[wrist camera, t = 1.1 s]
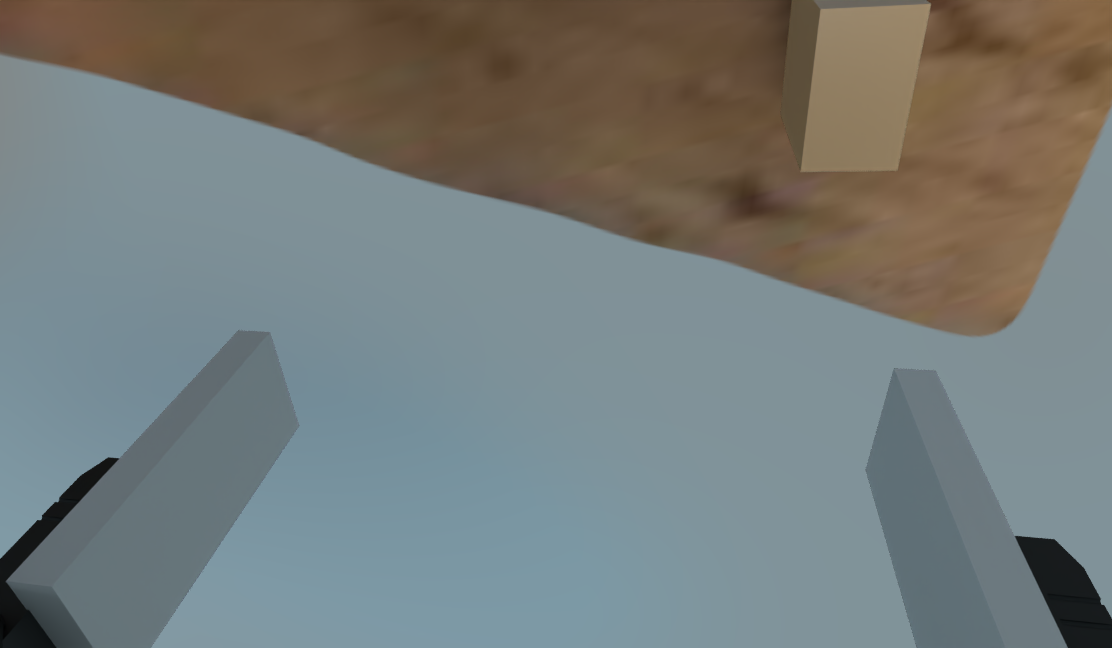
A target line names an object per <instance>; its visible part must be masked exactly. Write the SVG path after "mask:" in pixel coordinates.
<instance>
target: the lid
mask: <svg viewBox="0 0 1112 648" xmlns="http://www.w3.org/2000/svg"><path fill="white" fill-rule="evenodd" d="M930 7H931V3H929V2H928V1H926V0H792V3H791V13H790V23H789V32H788V42H787V52H786V62H785V72H784V82H783V92H782V101H781V111H780V115H781V118H782V121H783V124H784V126H785V129H786V132H787V135H788V138H789V141H790V143H791V146H792V149H793V152H794V155H795V158H796V160H797V163H798V166H799V169H800V172H841V171H897V170H898V165H899V160H900V155H901V150H902V145H903V140H904V135H905V131H906V126H907V121H908V116H909V111H910V106H911V101H912V96H913V91H914V86H915V81H916V76H917V71H918V66H919V61H920V56H921V51H922V46H923V41H924V36H925V32H926V27H927V22H928V17H929V12H930Z"/></svg>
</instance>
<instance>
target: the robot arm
mask: <svg viewBox="0 0 1112 648" xmlns="http://www.w3.org/2000/svg"><path fill="white" fill-rule="evenodd" d="M298 427H299V423H298V420H297V417H296V414H295V410H294V407H293V404H292V401H291V398H290V395H289V391H288V388H287V385H286V382H285V378H284V375H283V372H282V369H281V366H280V362H279V359H278V356H277V353H276V350H275V346H274V343H273V340H272V337H271V334H270V332H257V331H237V332H236V333H235V334H234V336H233V337H232V338H231V339H230V340H229V341H228V342H227V343H226V344H225V345H224V346H223V347H222V349H221V350H220V351H219V352H218V353H217V354H216V355H215V356H214V357H213V358H212V359H211V360H210V362H209V363H208V364H207V365H206V366H205V367H204V368H203V369H202V370H201V371H200V372H199V373H198V375H196V377H195V378H194V379H193V380H192V381H191V382H190V383H189V384H188V385H187V386H186V387H185V389H184V390H183V391H182V392H181V393H180V394H179V395H178V396H177V397H176V398H175V399H174V400H173V401H172V402H171V404H170V405H169V406H168V407H167V408H166V409H165V410H164V411H163V412H162V413H161V414H160V416H159V417H158V418H157V419H156V420H155V421H154V422H153V423H152V424H151V425H150V426H149V427H148V428H147V429H146V431H145V432H144V433H143V434H142V435H141V436H140V437H139V438H138V439H137V440H136V441H135V442H134V444H133V445H132V446H131V447H130V448H129V449H128V450H127V451H126V452H125V453H124V454H123V456H121V458H107V459H105V460H104V461H102V462H101V463H100V464H98V465H96V466H95V467H93V468H92V469H90V470H89V471H87V472H86V473H84V474H82V475H81V476H80V477H79V478H78V479H77V480H76V481H75V482H74V483H73V484H72V485H71V486H70V487H69V488H68V489H67V490H66V491H65V492H64V493H63V494H62V495H61V497H60V498H59V502H55V503H54V504H53V505H52V506H51V507H50V508H49V509H48V510H47V511H46V512H45V513H44V514H43V515H42V520H37V521H36V522H35V524H34V525H33V526H32V527H31V528H30V529H29V530H28V531H27V532H26V533H25V534H24V535H23V536H22V537H21V538H20V539H19V540H18V541H17V542H16V543H15V544H14V545H13V546H12V547H11V549H10V550H8V552H6V554H5V555H4V556H3V557H2V558H1V559H0V648H151V647H152V645H153V644H154V642H155V641H156V639H157V638H158V636H159V635H160V633H161V632H162V630H163V629H164V627H165V626H166V624H167V623H168V621H169V620H170V618H171V617H172V615H173V614H174V612H175V611H176V609H177V608H178V606H179V605H180V603H181V602H182V601H183V599H184V597H185V596H186V595H187V593H188V592H189V590H190V589H191V587H192V586H193V584H194V583H195V581H196V579H197V578H198V577H199V575H200V574H201V572H202V570H203V569H204V567H205V566H206V565H207V563H208V562H209V560H210V559H211V557H212V555H213V554H214V553H215V551H216V550H217V548H218V547H219V545H220V544H221V542H222V541H223V539H224V538H225V536H226V535H227V533H228V532H229V530H230V529H231V527H232V526H233V524H234V523H235V521H236V520H237V518H238V517H239V515H240V514H241V512H242V511H243V509H244V508H245V506H246V505H247V503H248V502H249V500H250V499H251V497H252V496H253V494H254V493H255V491H256V490H257V488H258V487H259V485H260V484H261V482H262V481H263V479H264V478H265V476H266V475H267V473H268V472H269V470H270V469H271V467H272V466H273V464H274V463H275V461H276V460H277V458H278V457H279V455H280V454H281V452H282V450H283V449H284V448H285V446H286V445H287V443H288V442H289V440H290V439H291V438H292V436H293V435H294V433H295V432H296V430H297V428H298ZM866 473H867V477H868V480H869V484H870V487H871V491H872V494H873V498H874V501H875V504H876V508H877V511H878V515H879V518H880V522H881V525H882V529H883V532H884V536H885V539H886V543H887V546H888V550H889V553H890V557H891V560H892V564H893V567H894V570H895V574H896V578H897V581H898V584H899V588H900V591H901V595H902V598H903V602H904V605H905V609H906V612H907V616H908V619H909V622H910V626H911V630H912V633H913V637H914V640H915V644H916V647H917V648H1112V619H1111V617H1110V615H1109V613H1108V611H1107V610H1106V607H1105V606H1104V605H1101V602H1100V600H1101V599H1100V597H1099V595H1098V593H1097V591H1096V589H1095V588H1094V586H1093V584H1092V582H1091V580H1090V578H1089V577H1088V575H1087V573H1086V571H1085V569H1084V568H1083V567H1082V566H1081V565H1080V564H1079V563H1078V562H1077V561H1076V560H1075V559H1074V558H1073V557H1072V556H1071V555H1070V554H1069V553H1068V552H1067V551H1066V550H1065V549H1064V548H1063V547H1062V546H1061V545H1060V544H1059V543H1058V542H1057V541H1056V540H1054V539H1043V538H1032V537H1022V536H1014V534H1013V532H1012V530H1011V528H1010V526H1009V524H1008V521H1007V519H1006V518H1005V515H1004V513H1003V511H1002V509H1001V507H1000V505H999V502H998V500H997V498H996V496H995V494H994V492H993V490H992V488H991V486H990V484H989V482H988V479H987V477H986V475H985V473H984V471H983V469H982V467H981V465H980V463H979V460H978V459H977V456H976V454H975V452H974V450H973V448H972V446H971V444H970V442H969V440H968V437H967V435H966V433H965V431H964V429H963V427H962V425H961V423H960V421H959V419H958V416H957V414H956V412H955V410H954V408H953V406H952V404H951V402H950V400H949V397H948V396H947V393H946V391H945V389H944V387H943V385H942V383H941V381H940V379H939V376H938V374H937V372H936V371H932V370H914V369H898V368H894V370H893V374H892V377H891V381H890V385H889V388H888V392H887V395H886V399H885V402H884V406H883V410H882V413H881V417H880V420H879V424H878V427H877V431H876V435H875V438H874V442H873V445H872V449H871V452H870V456H869V459H868V463H867V467H866Z"/></svg>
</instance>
